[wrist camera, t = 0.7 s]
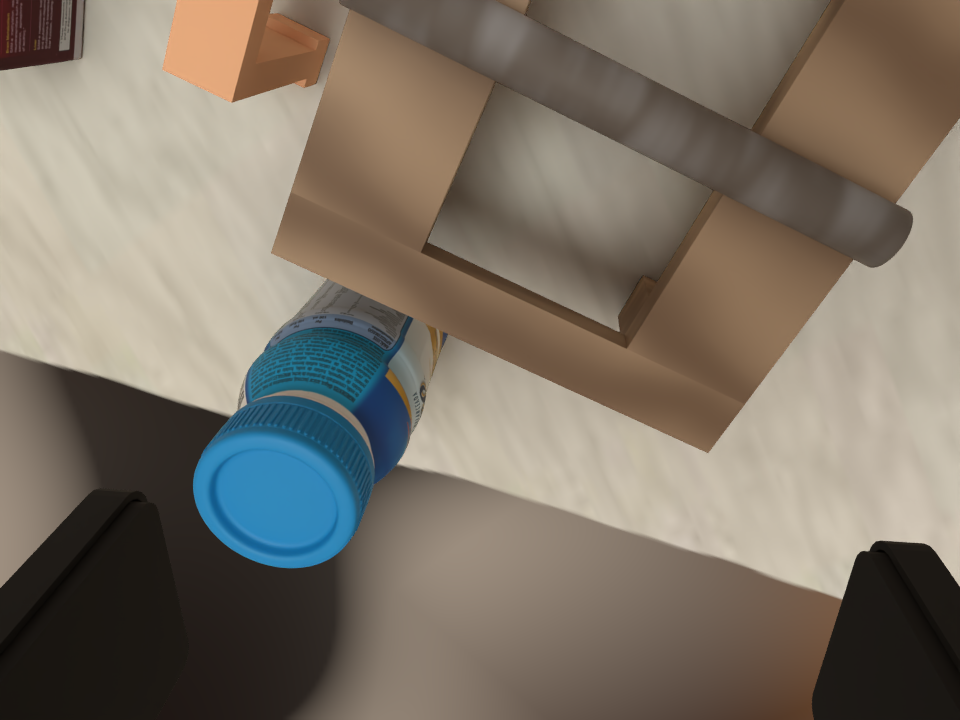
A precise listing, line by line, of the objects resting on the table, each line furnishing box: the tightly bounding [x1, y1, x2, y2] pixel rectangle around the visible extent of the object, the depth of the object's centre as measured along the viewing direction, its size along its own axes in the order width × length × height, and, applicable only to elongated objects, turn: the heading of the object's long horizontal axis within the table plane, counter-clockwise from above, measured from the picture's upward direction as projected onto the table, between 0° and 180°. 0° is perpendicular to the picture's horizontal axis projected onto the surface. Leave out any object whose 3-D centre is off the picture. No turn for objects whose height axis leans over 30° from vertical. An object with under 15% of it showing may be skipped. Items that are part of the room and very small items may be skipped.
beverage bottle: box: [193, 279, 448, 568], centre depth 37 cm, size 8×8×20 cm
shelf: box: [271, 0, 960, 453], centre depth 32 cm, size 24×22×14 cm
